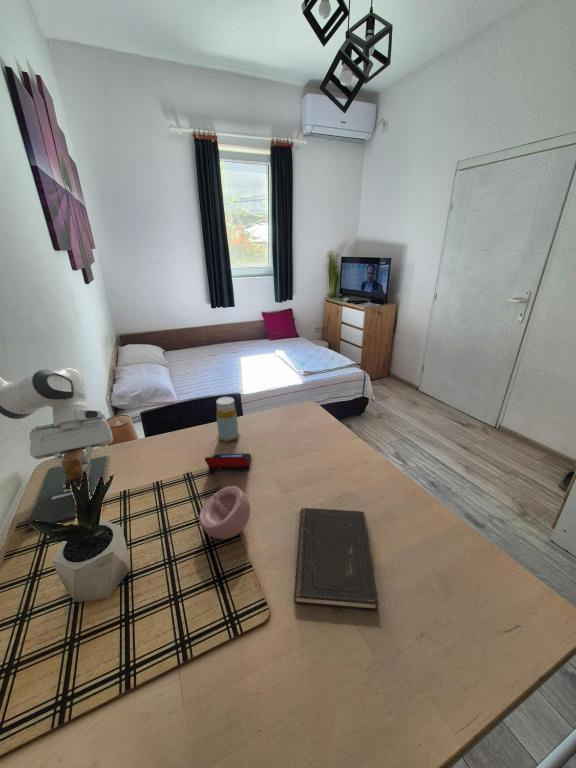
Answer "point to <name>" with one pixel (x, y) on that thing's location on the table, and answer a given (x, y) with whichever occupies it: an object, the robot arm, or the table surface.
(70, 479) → the tan rectangular block
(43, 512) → the slate board
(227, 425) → the bottle
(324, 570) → the hardcover book
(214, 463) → the handheld console
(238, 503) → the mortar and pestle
